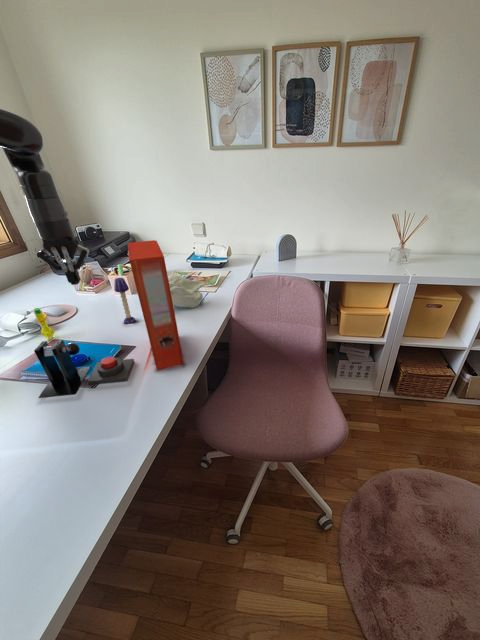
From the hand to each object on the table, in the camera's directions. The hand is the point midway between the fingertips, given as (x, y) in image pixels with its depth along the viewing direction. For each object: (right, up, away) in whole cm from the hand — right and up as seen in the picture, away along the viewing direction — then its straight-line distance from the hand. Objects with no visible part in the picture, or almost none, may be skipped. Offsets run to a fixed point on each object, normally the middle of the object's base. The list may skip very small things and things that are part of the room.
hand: (75, 283), depth 85 cm
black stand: (-1, -28, -2) cm, 28 cm away
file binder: (+23, -20, +10) cm, 32 cm away
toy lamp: (+3, -8, +28) cm, 29 cm away
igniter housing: (+10, -26, +1) cm, 28 cm away
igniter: (+10, -23, -1) cm, 25 cm away
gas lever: (-1, -20, -3) cm, 21 cm away
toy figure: (-19, -15, +18) cm, 30 cm away
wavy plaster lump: (+20, -1, +39) cm, 43 cm away
